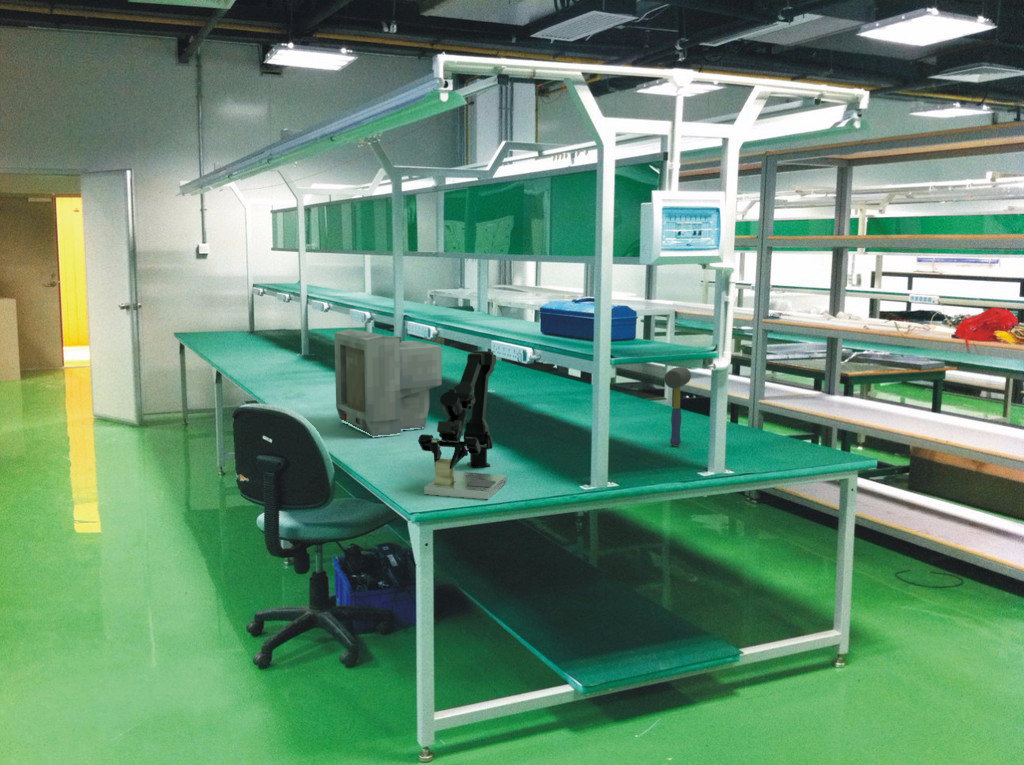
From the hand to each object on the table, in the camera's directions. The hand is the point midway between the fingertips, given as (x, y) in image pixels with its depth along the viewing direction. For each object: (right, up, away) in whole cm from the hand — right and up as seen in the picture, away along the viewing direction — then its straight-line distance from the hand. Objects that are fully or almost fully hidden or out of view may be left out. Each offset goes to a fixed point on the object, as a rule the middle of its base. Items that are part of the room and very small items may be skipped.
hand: (443, 467), depth 261 cm
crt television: (-29, +7, +101) cm, 105 cm away
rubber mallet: (+83, +1, +67) cm, 106 cm away
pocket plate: (+7, -7, +5) cm, 11 cm away
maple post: (0, -7, +2) cm, 8 cm away
